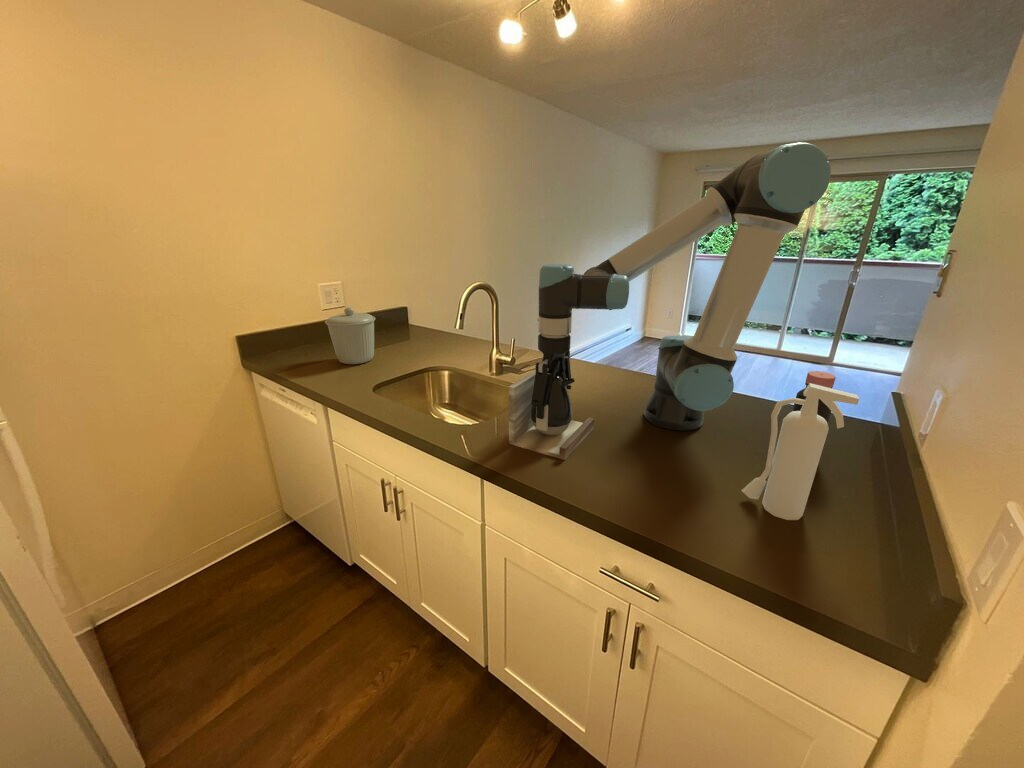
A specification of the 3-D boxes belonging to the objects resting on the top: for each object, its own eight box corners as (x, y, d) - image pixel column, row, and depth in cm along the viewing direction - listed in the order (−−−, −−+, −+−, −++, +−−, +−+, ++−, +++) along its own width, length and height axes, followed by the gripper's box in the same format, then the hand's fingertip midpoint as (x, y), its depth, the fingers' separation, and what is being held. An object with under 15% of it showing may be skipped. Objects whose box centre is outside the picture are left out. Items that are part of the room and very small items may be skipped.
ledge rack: (593, 428, 109) (597, 375, 104) (565, 460, 95) (568, 399, 89) (542, 416, 116) (543, 365, 111) (508, 443, 102) (508, 386, 96)
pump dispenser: (570, 442, 100) (573, 382, 94) (527, 438, 102) (528, 379, 96) (573, 423, 109) (576, 368, 103) (534, 420, 111) (534, 366, 105)
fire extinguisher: (741, 486, 85) (773, 372, 75) (812, 508, 79) (858, 387, 69) (737, 505, 79) (771, 384, 69) (813, 530, 73) (862, 402, 64)
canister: (390, 358, 167) (384, 305, 159) (352, 371, 153) (343, 314, 145) (360, 351, 176) (353, 301, 168) (322, 363, 162) (312, 308, 154)
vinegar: (775, 448, 99) (795, 369, 92) (804, 449, 99) (827, 369, 92) (792, 464, 93) (815, 380, 86) (823, 464, 93) (849, 380, 85)
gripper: (560, 322, 107) (557, 402, 115) (515, 343, 89) (515, 435, 97) (587, 326, 103) (582, 407, 111) (546, 348, 85) (544, 443, 93)
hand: (551, 420), depth 104 cm, fingers closed on pump dispenser, 10 cm apart
